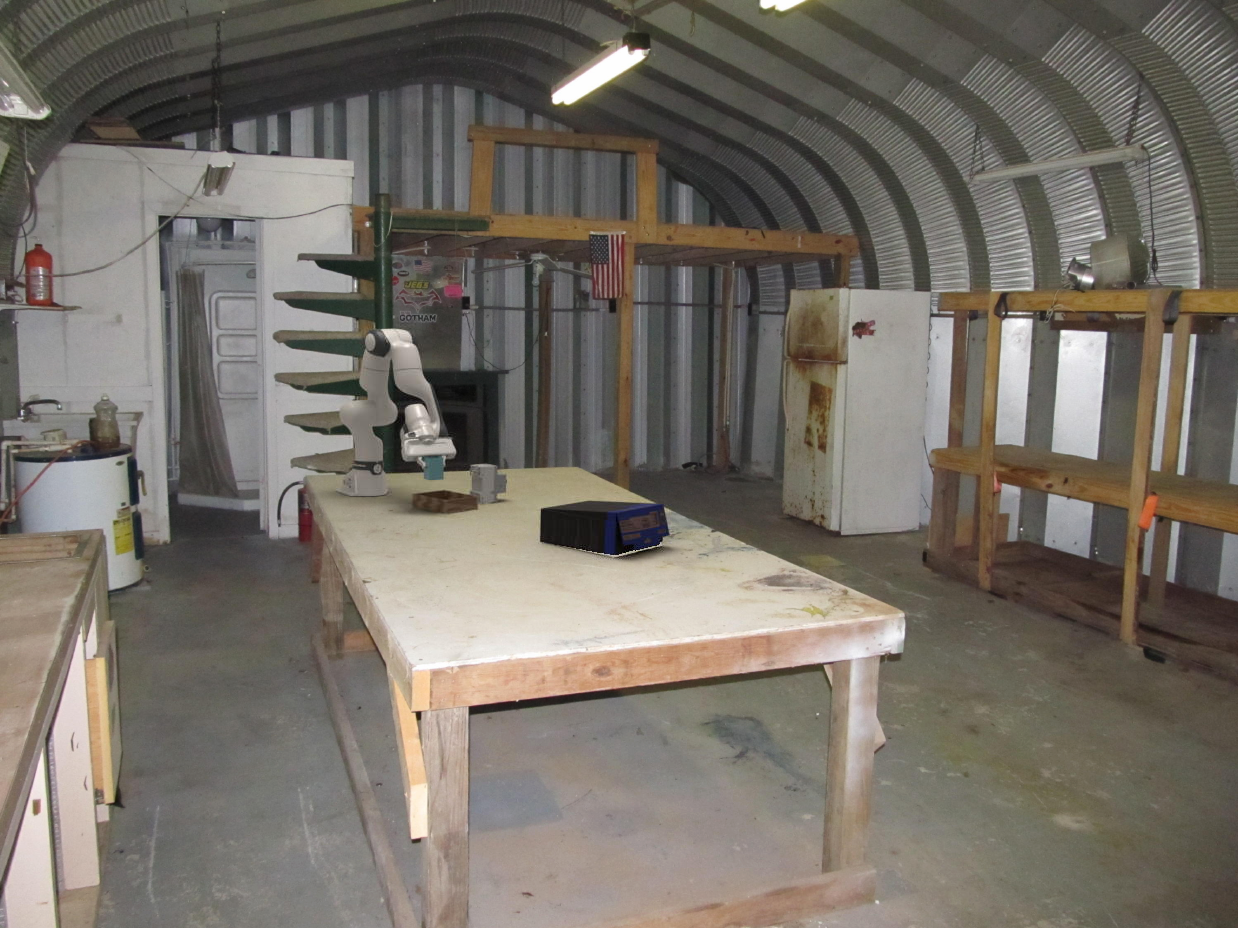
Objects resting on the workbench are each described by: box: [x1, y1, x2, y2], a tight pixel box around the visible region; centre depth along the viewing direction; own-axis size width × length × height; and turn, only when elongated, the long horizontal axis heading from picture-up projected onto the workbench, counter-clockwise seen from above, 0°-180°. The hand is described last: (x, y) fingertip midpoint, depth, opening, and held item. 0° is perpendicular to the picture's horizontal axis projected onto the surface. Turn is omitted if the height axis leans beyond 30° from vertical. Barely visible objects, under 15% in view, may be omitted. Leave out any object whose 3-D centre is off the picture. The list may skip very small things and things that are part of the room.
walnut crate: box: [411, 489, 479, 515], centre depth 362 cm, size 20×16×5 cm
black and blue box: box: [539, 500, 671, 555], centre depth 304 cm, size 25×35×14 cm
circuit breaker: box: [469, 463, 508, 505], centre depth 379 cm, size 8×14×15 cm, turn 133°
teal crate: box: [423, 456, 445, 481], centre depth 349 cm, size 6×6×8 cm
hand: (434, 467), depth 348 cm, fingers closed on teal crate, 6 cm apart
